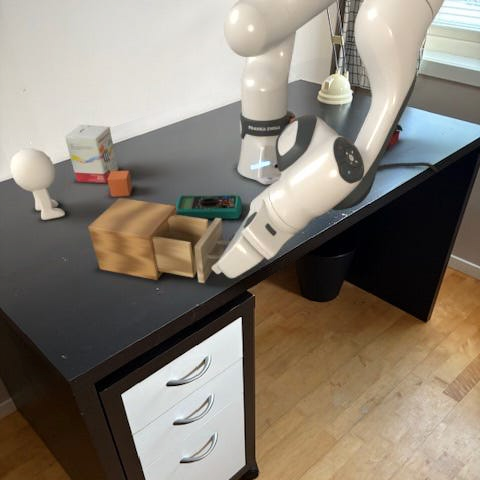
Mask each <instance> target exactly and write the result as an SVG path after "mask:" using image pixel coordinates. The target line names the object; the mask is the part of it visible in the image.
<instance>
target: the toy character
mask: <svg viewBox="0 0 480 480" xmlns="http://www.w3.org/2000/svg"><path fill="white" fill-rule="evenodd" d="M9 167H10V172H11V177H12V178H13V180H14V182H15V183H16V185H18V186H19V187H20V188H22V189H23V190H24V191H28V192H32V194H33V197H34V202H35V203H34V207H35V210H36V211H40V218H41V220H45V221H47V220H51V219H56V218H57V219H58V218H61V217H64V216H65V215H66V213H65V211H64V210H63V209H62V208H60V207H58V206H59V203H58V202H57V200H55V199H52V198H51V195H50V192H49V190H48V189H49V188H50V187H51V186H52V185H53V183H54V182H55V179H56V169H55V165H54V163H53V161H52V159H51V157H50V156H49V155H47V153H45V152H44V151H43V150H39V149H37V148H24V149H21V150H19V151H16V153H15V154H14V155H13V156H12V158H11V161H10V166H9Z"/></svg>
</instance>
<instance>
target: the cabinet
mask: <svg viewBox="0 0 480 480" xmlns="http://www.w3.org/2000/svg"><path fill="white" fill-rule="evenodd" d="M172 214H175V215H177V208H176V205H171V204H163V203H156V202H151V201H143V200H137V199H136V200H135V199H129V198H122V197H119V198H118V199H117V200H116V201H115V202H113V203H112V204H111V205H110V206H109V207H108V208H107V209H106V210H105V211H104V212H102V214H100V215H99V216H98V217H97V218H96V219H95V220H94V221H93V222H92V223H91V224H90V225H88V233H89V235H90V239H91V242H92V246H93V249H94V253H95V257H96V261H97V263H98V267H99V270H103V271H108V272H112V273H117V274H124V275H128V276H134V277H139V278H144V279H150V280H155V281H158V280H159V279H160V277H161V276H162V275H163V273H164V272H161V271H158V270H157V265H156V260H155V254H154V249H153V244H152V237H153V236H154V235H155V234H156V233H157V232H158V231H159V229H160V228H161V227H162V226H163V225H164V224H165V222H166V221H167V220H168V219H169V218H170V217H171V216H172Z"/></svg>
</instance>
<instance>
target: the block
mask: <svg viewBox="0 0 480 480" xmlns="http://www.w3.org/2000/svg"><path fill="white" fill-rule="evenodd" d="M107 180H108V182H107V184H108V188H109V192H110V196H111V197H112V198H113V197H130V196H131V193H132V189H133V184H132V178H131V173H130V171H129V170H117V171H111V172H110V175H109V177H108V179H107Z"/></svg>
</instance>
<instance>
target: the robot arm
mask: <svg viewBox="0 0 480 480" xmlns="http://www.w3.org/2000/svg"><path fill="white" fill-rule="evenodd" d="M445 1H446V0H363V1H362V3H361V5H360V7H359V8H358V12H357V14H356V17H355V19H354V20H355V21H354V42H355V46H356V51H357V53H358V56H359V58H360V60H361V63H362V65H363V67H364V70H365V73H366V75H367V78H368V79H367V80H368V83H369V86H370V91H371V103H370V107H369V110H368V113H367V115H366V117H365V119H364V122H363V124H362V126H361V128H360V130H359V132H358V134H357V136H356V139H355V141H354V142H353V141H351V140H350V139H349V138H347V137H345V136H343V135H340V134H338V132H337V131H335V130H334V129H333V128H332V127H331V126H330V125H328V124H327V123H326V121H324V120H323V119H321V118H320V117H318V116H316V114H307V115H301V116H299V117H296V115H295V114H294V112H293V111H292V110H290V111H289V110H288V101H289V100H288V97H289V78H290V70H291V66H292V65H291V64H292V59H293V54H294V48H295V41H296V35H297V31H298V30H300V29H301V28H302V27H303V26H305V25H307V23H309V22H311V21H312V20H313V19H315V18H316V17H317V16H319V15H320V14H321V13H323V12H324V11H326V10H327V9H328V8H329V7H331V6H332V5H333V4H335V3H336V2H338V0H238V1H236V3H235V4H234V5H233V6H232V7H231V8H230V10H229V11H228V13H227V14H226V16H225V19H224V24H223V33H224V38H225V41H226V43H227V45H228V47H229V48H230V49H231V51H232V52H233V53H235V54H236V55H237V56H240V57H243V58H246V60H245V63H244V69H243V71H242V74H241V77H240V95H241V96H240V97H241V99H240V100H241V113H240V115H239V134H240V137H241V143H240V144H241V145H240V147H241V148H240V154H239V159H238V164H237V169H236V170H237V172H238V173H239V174H240V175H241V176H243V177H244V178H247V179H250V180H253V181H257V182H258V183H260V184H262V185H269V186H268V187H266V188H265V189H264V190H263V191H262V192H260V194H258V195H257V196H256V197H254V199H252V201H251V202H250V205H249V212H248V214H247V215H246V217H245V219H243V221H242V223H241V225H239V227H238V230H237V231H236V232H235V233H233V234H232V235H231V236H230V238H229V241H231V242H230V243H229V245H227V246H226V247H225V250H224V253H223V254H222V256H221V257H220V259H219V260H217V261H216V262H215V263H214V265H213V266H212V272H214V273H215V274H216V275H220V274H222V273H223V275H225V276H226V277H227V278H228V279H235V278H237V277H239V276H241V275H243V274H244V273H246V272H248V271H249V270H251V269H252V268H254V267H255V266H257V265H258V264H259V263H260V262H262V261H263V260H264V259H266V260H267V261H268V260H270V259H272V258H274V257H275V256H277V254H278V253H279V252H280V251H281V249H282V248H283V247H284V245H285V244H286V243H287V242H288V241H290V240H291V239H292V238H293V237H294V236H295V235H296V234H298V233H299V232H300V231H302V230H303V229H304V228H306V227H307V226H308V225H309V224H310V222H312V220H314V219H315V218H317V217H320V216H323V215H324V214H326V213H328V212H329V211H330V210H333V211H344V210H348V209H352V208H354V207H356V206H358V205H360V204H362V203H363V202H364V201H365V199H367V197H368V195H369V194H370V193H371V191H372V188H373V185H374V183H375V179H376V176H377V173H378V170H382V169H389V168H397V167H427V168H429V169H431V170H433V171H434V172H439V169H438V168H437V167H436V166H435V165H434V164H431V163H429V162H397V163H388V164H381V161H382V159H383V157H384V154H385V152H386V151H387V150H386V148H387V146H388V144H389V142H390V140H391V138H392V136H393V133H394V131H395V129H396V127H397V125H399V124H400V123H399V122H400V121H401V119H402V117H403V114H404V112H405V110H406V108H407V105H408V103H409V102H410V99H411V97H412V94H413V92H414V89H415V87H416V83H417V79H418V73H417V72H418V69H417V66H418V61H419V60H418V59H419V56H420V51H421V48H422V44H423V42H424V39H425V36H426V35H427V32H428V30H429V28H430V27H431V25H432V23H433V22H434V21H435V19H436V17H437V15H438V13H439V12H440V10H441V8H442V6H443V4H444V2H445ZM385 150H386V151H385Z"/></svg>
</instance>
